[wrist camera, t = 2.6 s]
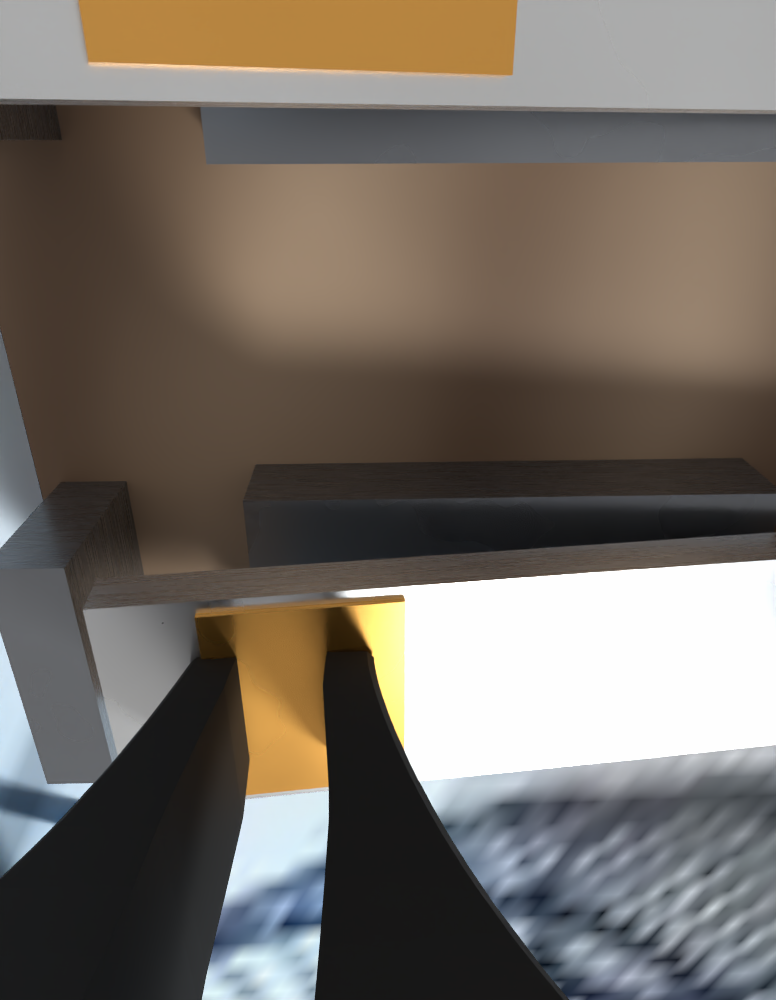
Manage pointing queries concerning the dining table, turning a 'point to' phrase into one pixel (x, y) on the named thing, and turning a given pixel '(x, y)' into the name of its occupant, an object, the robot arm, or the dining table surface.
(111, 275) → the board
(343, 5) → the strap
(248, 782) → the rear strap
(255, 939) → the dining table surface
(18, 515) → the dining table surface
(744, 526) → the hardware
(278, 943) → the dining table surface
